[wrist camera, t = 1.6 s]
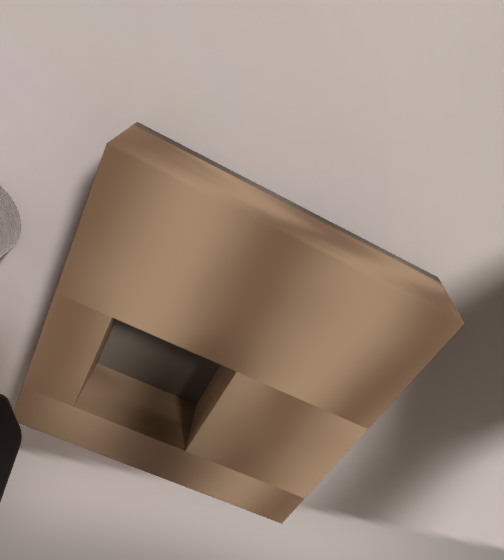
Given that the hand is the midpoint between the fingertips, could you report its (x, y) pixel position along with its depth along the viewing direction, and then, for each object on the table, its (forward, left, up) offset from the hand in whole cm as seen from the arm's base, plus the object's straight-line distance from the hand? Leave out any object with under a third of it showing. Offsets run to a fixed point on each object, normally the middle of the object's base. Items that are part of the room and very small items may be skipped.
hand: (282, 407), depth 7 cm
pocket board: (-1, +8, -13) cm, 15 cm away
